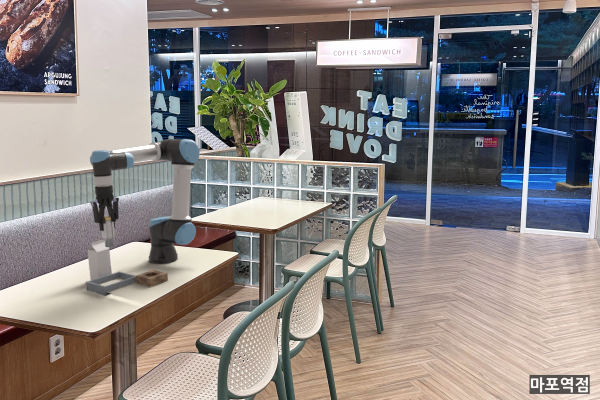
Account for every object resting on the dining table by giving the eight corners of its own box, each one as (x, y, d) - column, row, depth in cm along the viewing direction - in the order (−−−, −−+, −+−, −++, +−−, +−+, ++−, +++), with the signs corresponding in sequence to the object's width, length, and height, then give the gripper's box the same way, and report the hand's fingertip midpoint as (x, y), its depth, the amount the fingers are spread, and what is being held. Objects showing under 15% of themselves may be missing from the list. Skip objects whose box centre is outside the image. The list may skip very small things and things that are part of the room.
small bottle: (110, 244, 249) (107, 215, 246) (115, 245, 246) (112, 216, 244) (103, 246, 246) (100, 217, 243) (108, 247, 244) (105, 218, 241)
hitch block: (154, 279, 258) (153, 269, 258) (168, 283, 253) (167, 273, 252) (136, 285, 251) (135, 275, 250) (150, 289, 245) (150, 279, 244)
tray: (120, 279, 261) (119, 271, 260) (139, 284, 253) (138, 276, 252) (86, 290, 247) (85, 281, 246) (105, 296, 238) (104, 287, 238)
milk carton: (112, 278, 262) (108, 240, 259) (99, 282, 257) (95, 243, 253) (102, 276, 266) (99, 238, 263) (90, 280, 261) (86, 242, 257)
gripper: (114, 182, 250) (118, 231, 254) (81, 187, 237) (87, 239, 241) (124, 183, 245) (128, 233, 250) (92, 188, 232) (97, 241, 237)
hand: (108, 236), depth 245 cm, fingers closed on small bottle, 3 cm apart
